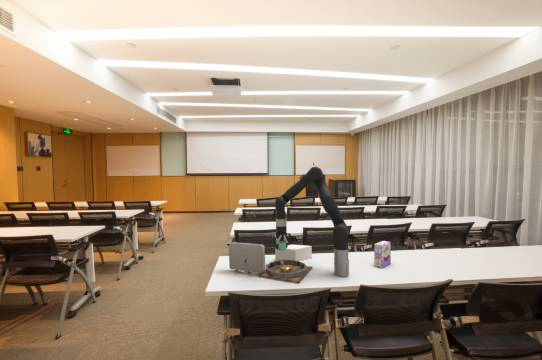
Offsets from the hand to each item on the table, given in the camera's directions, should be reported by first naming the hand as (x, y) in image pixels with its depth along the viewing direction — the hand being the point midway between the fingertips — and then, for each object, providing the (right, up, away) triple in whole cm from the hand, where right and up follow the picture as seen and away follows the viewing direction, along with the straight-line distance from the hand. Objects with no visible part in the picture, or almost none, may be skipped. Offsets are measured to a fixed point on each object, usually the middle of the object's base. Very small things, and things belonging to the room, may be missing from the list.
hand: (281, 248), depth 192 cm
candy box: (+73, -13, +4) cm, 75 cm away
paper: (+10, -14, +20) cm, 27 cm away
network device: (-24, -15, -6) cm, 29 cm away
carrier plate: (+3, -15, -7) cm, 17 cm away
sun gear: (+3, -13, -7) cm, 15 cm away
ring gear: (+3, -13, -7) cm, 15 cm away
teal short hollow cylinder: (0, -1, 0) cm, 1 cm away
